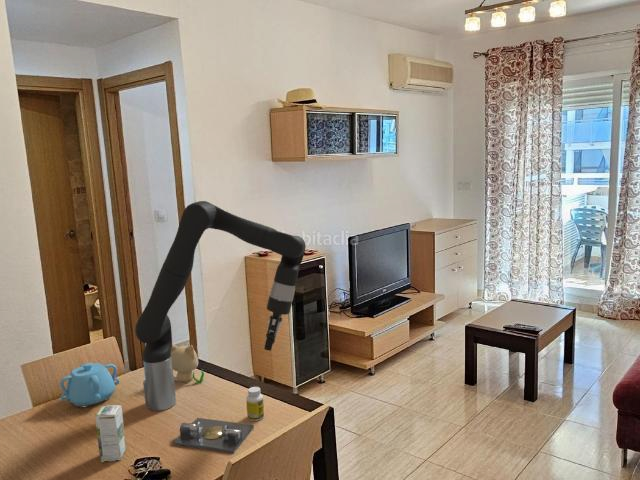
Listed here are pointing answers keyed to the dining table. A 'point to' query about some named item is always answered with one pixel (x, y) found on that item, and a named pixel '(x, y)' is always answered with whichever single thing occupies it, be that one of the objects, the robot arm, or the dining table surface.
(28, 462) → the dining table surface
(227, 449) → the base
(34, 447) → the dining table surface
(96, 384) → the decorative pot
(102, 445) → the syrup box
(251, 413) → the supplement bottle
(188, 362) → the kitten
